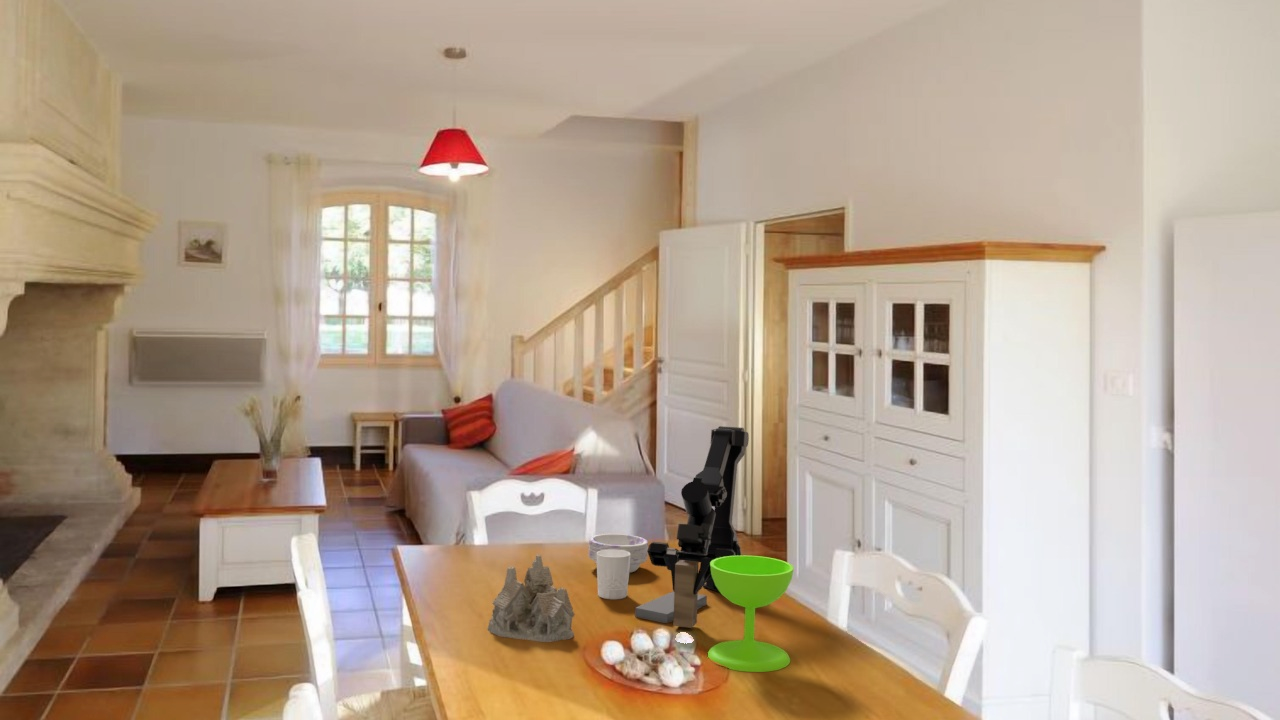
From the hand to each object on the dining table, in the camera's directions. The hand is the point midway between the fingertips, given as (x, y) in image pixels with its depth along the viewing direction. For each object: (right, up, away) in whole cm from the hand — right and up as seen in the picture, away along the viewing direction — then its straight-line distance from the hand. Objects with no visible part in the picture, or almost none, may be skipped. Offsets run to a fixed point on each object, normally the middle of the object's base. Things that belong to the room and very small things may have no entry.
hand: (684, 592), depth 213 cm
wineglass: (+12, -9, -16) cm, 22 cm away
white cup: (-16, -7, +25) cm, 30 cm away
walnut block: (0, -7, +2) cm, 7 cm away
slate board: (-2, -7, +14) cm, 16 cm away
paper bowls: (-15, -6, +50) cm, 52 cm away
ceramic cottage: (-32, -8, -3) cm, 33 cm away
